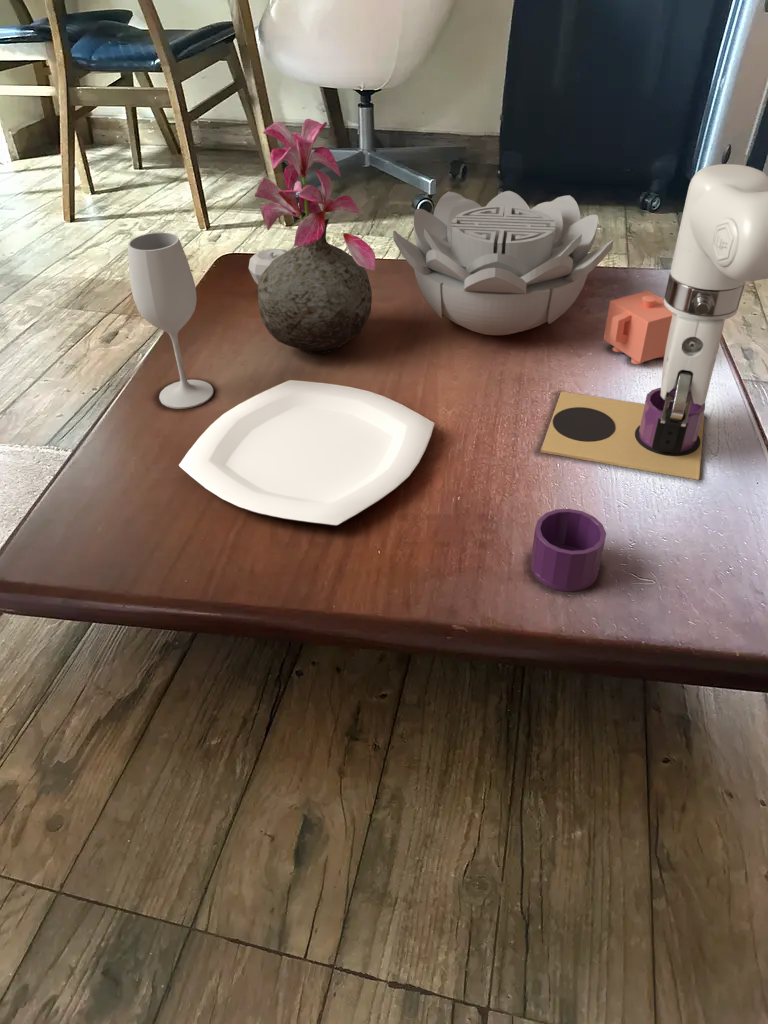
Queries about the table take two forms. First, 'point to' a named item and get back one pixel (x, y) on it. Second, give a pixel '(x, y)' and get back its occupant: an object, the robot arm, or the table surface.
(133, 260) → the wineglass
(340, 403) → the plate
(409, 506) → the table surface
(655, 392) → the plum dish
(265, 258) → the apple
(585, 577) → the plum dish
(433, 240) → the decorative bowl
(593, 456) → the placemat
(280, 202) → the vase
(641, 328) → the pink cube teapot
